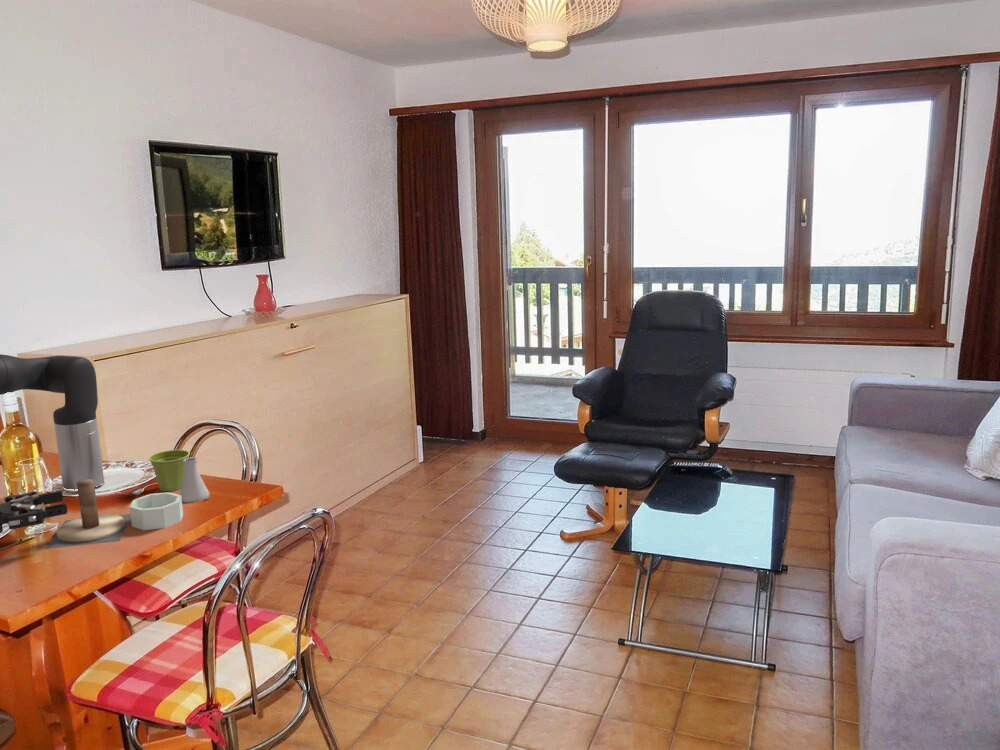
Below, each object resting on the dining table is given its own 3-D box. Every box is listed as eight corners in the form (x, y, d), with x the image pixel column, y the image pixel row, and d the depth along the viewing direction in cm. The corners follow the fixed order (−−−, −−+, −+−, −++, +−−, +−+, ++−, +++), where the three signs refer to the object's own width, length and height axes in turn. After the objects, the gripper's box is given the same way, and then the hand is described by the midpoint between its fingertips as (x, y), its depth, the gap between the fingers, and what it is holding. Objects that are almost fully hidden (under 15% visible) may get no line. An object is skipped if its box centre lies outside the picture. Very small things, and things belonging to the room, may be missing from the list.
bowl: (138, 516, 177) (135, 495, 176) (185, 511, 179) (183, 490, 178) (129, 533, 167) (126, 511, 166) (179, 528, 170) (176, 506, 168)
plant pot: (143, 492, 192) (139, 458, 190) (174, 479, 200) (171, 447, 198) (170, 497, 188) (167, 463, 186) (201, 485, 196) (198, 452, 194)
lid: (66, 521, 172) (60, 474, 170) (130, 515, 176) (124, 469, 173) (49, 546, 160) (42, 495, 158) (117, 538, 163) (111, 489, 161)
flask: (186, 493, 191) (182, 454, 189) (215, 493, 190) (211, 454, 188) (172, 504, 184) (167, 463, 182) (201, 505, 183) (197, 464, 181)
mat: (65, 522, 173) (65, 520, 173) (133, 515, 177) (133, 513, 177) (45, 550, 159) (45, 548, 159) (119, 542, 163) (119, 540, 162)
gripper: (-30, 513, 149) (66, 495, 157) (-31, 491, 160) (58, 475, 169) (-24, 549, 150) (71, 529, 159) (-26, 525, 162) (63, 508, 171)
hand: (64, 501), depth 164 cm, fingers open, 8 cm apart
